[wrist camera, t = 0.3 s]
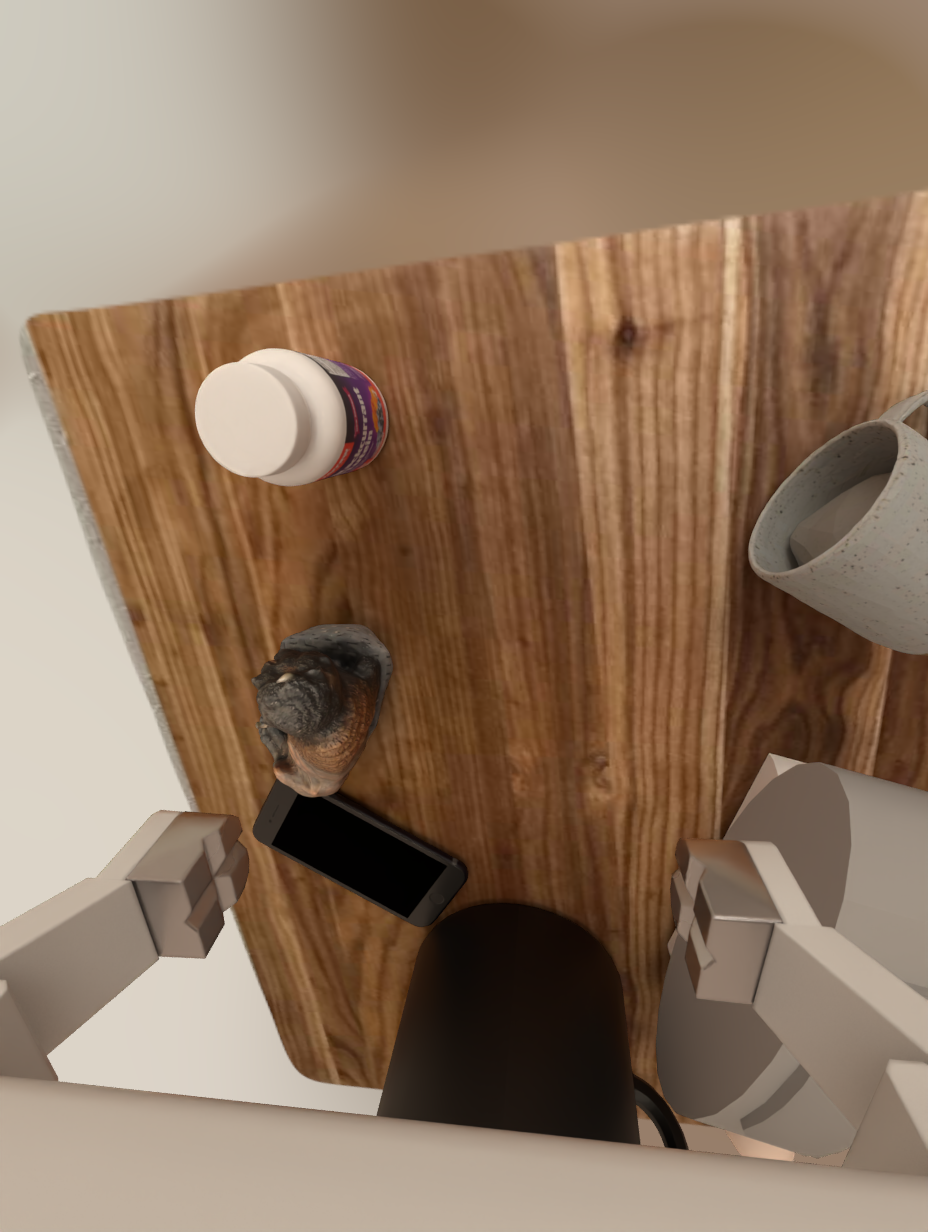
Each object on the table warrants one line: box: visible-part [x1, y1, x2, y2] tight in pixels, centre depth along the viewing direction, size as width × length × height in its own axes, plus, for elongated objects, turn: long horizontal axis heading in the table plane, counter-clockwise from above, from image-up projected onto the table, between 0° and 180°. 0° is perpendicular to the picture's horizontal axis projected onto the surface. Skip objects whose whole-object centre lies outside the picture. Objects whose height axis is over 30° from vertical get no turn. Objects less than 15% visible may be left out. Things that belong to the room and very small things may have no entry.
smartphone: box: [253, 778, 468, 927], centre depth 38 cm, size 7×15×1 cm, turn 61°
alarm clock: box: [656, 753, 928, 1158], centre depth 28 cm, size 23×6×13 cm, turn 167°
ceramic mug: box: [748, 390, 928, 655], centre depth 22 cm, size 11×8×8 cm
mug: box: [377, 903, 689, 1150], centre depth 34 cm, size 15×20×15 cm
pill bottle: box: [195, 349, 388, 486], centre depth 24 cm, size 5×5×10 cm
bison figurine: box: [251, 624, 393, 797], centre depth 30 cm, size 12×7×10 cm, turn 161°
